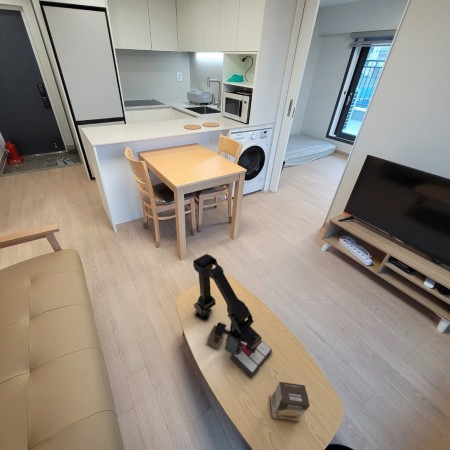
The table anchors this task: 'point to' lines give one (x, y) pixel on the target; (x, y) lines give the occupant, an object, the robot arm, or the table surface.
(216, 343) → the walnut block
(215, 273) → the robot arm
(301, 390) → the coffee box
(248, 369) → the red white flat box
